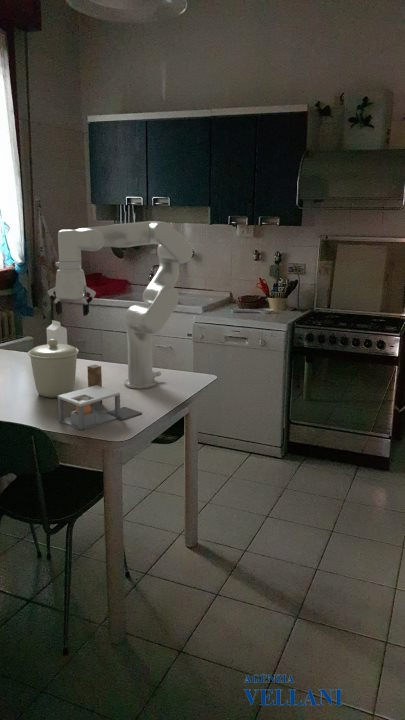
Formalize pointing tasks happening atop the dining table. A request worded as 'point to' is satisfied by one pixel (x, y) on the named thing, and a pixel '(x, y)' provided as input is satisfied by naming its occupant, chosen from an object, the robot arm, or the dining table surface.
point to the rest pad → (125, 413)
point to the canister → (54, 368)
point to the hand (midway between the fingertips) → (72, 314)
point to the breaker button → (86, 408)
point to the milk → (57, 332)
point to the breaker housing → (96, 414)
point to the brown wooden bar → (94, 377)
